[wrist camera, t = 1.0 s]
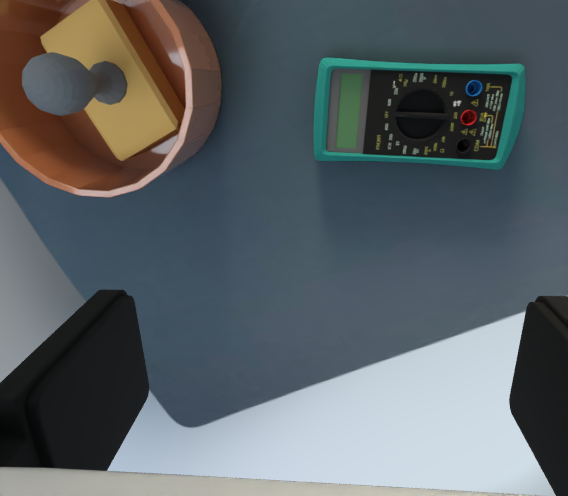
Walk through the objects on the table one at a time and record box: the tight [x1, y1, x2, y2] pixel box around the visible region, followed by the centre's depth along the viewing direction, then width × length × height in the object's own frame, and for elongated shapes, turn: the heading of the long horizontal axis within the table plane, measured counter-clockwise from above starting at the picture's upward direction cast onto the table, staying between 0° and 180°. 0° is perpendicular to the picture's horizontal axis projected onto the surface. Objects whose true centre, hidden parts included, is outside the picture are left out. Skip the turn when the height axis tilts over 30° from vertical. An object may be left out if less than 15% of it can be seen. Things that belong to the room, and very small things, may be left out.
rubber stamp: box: [22, 0, 185, 161], centre depth 29 cm, size 10×6×12 cm, turn 29°
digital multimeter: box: [314, 57, 525, 170], centre depth 33 cm, size 7×15×3 cm, turn 88°
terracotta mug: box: [0, 0, 222, 198], centre depth 31 cm, size 18×15×8 cm
